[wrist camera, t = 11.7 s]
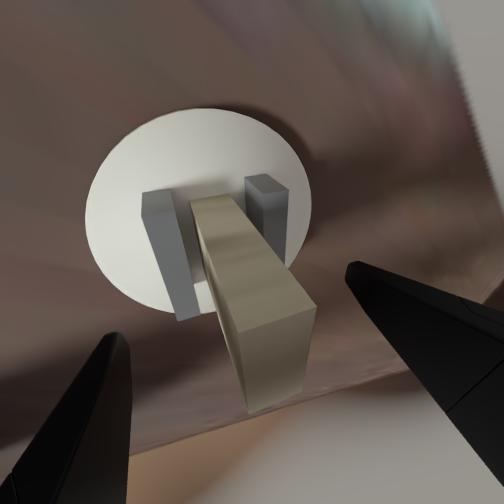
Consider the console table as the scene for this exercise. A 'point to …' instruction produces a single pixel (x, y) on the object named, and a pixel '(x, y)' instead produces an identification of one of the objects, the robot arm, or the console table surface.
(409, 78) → the console table surface
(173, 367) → the console table surface
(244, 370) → the block
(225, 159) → the dish
